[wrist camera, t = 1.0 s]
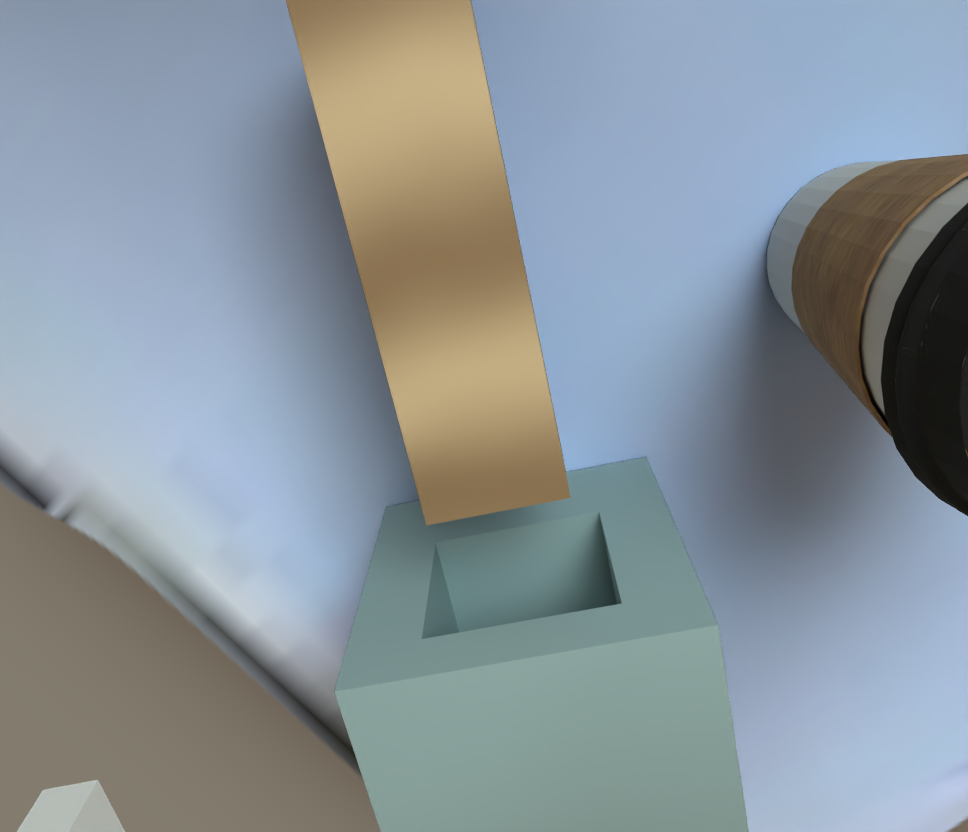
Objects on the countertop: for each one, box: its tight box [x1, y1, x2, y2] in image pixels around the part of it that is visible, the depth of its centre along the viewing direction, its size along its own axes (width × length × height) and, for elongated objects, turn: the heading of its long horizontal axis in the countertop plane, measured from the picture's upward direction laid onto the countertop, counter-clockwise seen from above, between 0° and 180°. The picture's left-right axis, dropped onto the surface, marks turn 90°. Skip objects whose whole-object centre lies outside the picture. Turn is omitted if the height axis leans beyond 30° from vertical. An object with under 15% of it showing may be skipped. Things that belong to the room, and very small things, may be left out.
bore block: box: [334, 457, 749, 832], centre depth 28 cm, size 8×10×11 cm
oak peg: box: [286, 0, 571, 525], centre depth 23 cm, size 14×4×4 cm, turn 12°
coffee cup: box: [767, 154, 968, 516], centre depth 22 cm, size 8×8×15 cm
